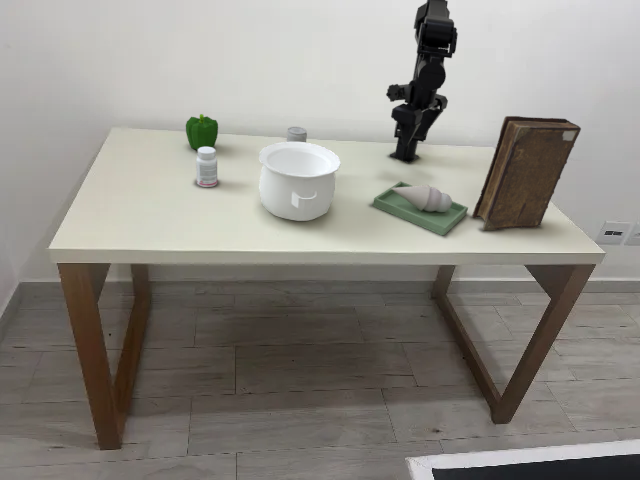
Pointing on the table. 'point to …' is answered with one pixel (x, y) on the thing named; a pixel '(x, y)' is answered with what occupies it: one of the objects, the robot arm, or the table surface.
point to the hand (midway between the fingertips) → (413, 140)
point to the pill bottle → (206, 167)
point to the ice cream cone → (425, 198)
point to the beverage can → (296, 134)
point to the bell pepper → (201, 132)
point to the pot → (297, 179)
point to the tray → (419, 211)
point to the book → (525, 171)
